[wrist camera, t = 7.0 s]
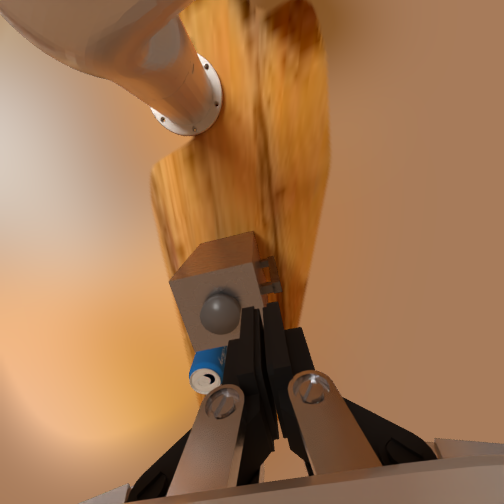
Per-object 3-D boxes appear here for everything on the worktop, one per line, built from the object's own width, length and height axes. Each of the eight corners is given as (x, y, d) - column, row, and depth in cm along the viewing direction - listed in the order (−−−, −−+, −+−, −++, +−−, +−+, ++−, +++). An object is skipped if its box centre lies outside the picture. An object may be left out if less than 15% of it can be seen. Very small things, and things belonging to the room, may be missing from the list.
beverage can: (234, 345, 57) (229, 387, 45) (211, 356, 58) (199, 401, 46) (219, 323, 55) (210, 361, 44) (195, 335, 56) (180, 376, 45)
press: (200, 243, 50) (168, 281, 32) (267, 227, 49) (274, 256, 31) (215, 292, 53) (194, 352, 35) (279, 277, 52) (291, 332, 34)
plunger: (204, 249, 49) (173, 293, 30) (249, 238, 48) (245, 276, 29) (217, 290, 51) (196, 353, 33) (260, 280, 51) (263, 340, 32)
